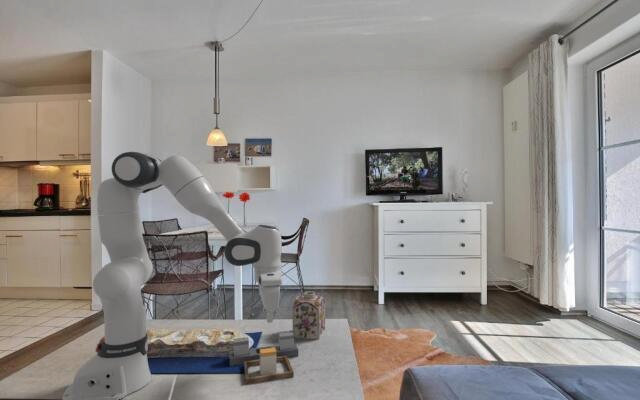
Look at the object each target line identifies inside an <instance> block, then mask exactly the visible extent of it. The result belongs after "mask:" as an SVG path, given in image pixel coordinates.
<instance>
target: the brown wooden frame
mask: <svg viewBox="0 0 640 400" xmlns="http://www.w3.org/2000/svg"><path fill="white" fill-rule="evenodd" d="M283 362H285V363H284V364H285V365H286V368H287V371H284V372H276V373H271V374H264V375H260V376H259V375H258V376H257V375H256V376H251V377H250V376H249V371H248V370H249V369H248V367H256V366H260V359H259V360H252V361H245V362H244V364H243V370H244V375H245V384H246V385H253V384H259V383H265V382H272V381H277V380H283V379H289V378H294V377H295V375H294V373H295V372H294V370H293V367H292V365H291V362H290V361H289V358H287V356H280V357H276V364H277V363H283Z"/></svg>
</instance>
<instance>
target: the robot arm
mask: <svg viewBox="0 0 640 400" xmlns="http://www.w3.org/2000/svg"><path fill="white" fill-rule="evenodd" d="M111 174H112V176H113V177H111V178H107V179H105V180H103V181H101V182H100V184H99V186H98V190H97V197H96V198H97V200H96V201H97V202H96V203H97V204H96V205H97V207H96V208H97V217H98V218H97V221H98V228H99V235H100V237H99V238H100V241H101V243H102V244H103V245H104V247H105V248H106V251H107V254H108V257H109V258H110V262H108V263H107V264H105V265H104V266H103V267H101V269H100V270H99V271H98V272H97V273H96V275H95V276H94V278H93V281H92V287H93V291H94V293H95V294H96V296H98V297H99V299H100V303H101V306H102V307H101V308H102V311H103V316H104V317H103V318H104V336H103V337H101V339H99V342H98V343H97V345H96V347H95V353H96V354H95V355H93V356H92V357H91V358H90V359H89V360H87V361H86V362H85V363H83V364H82V365H81V367H79V369H78V370H77V371H76V373H75V375H74V378H73V381H72V383H71V384H69V385H68V387H67V388H66V389H65V390H64V392H63V394H62V396H61V400H119V399H120V400H121V398H122V399H123V398H125V397H126V396H128V395H130V394H131V393H135V392H136V391H139V390H141V389H142V388H144V387H145V386H147V385H148V384H149V383H150V382H151V380H152V373H151V370H150V367H149V362H148V351H149V338H148V333H147V309H146V307H145V305H144V301H143V298H142V286H143V285H145V284H146V283H147V282H148V281H149V280H150V278H151V276H152V274H153V270H154V269H153V268H154V265H153V262H152V261H151V259H150V255H149V253H148V249H147V246H146V244H145V241H144V236H143V231H142V230H143V229H142V221H141V214H140V213H141V212H140V205H139V197H140V196H141V194H142V193H143V194H146V193H148V192H150V191H153V190H156V189H158V188H160V187H162V186H164V187H165V188H166V189H167V190H168V191H169V192H170V194H171V195H172V196H173V197H174V198H175V199H176V201H177V202H178V203H179V205H181V206H182V207H183V208H184V209H185V210H186V211H188V212H189V213H190V214H193V215H196V216H199V217H201V218H204V219H205V220H207V221H209V222H210V223H211V224H212V225H213V227H215V228H216V230H217V231H218V232H219V233H220V235H222V236H223V238H224V239H225V240H226V241H227V243H226V244H225V246H224V250H223V251H224V257H225V259H226V261H227V263H229V264H230V265H232V266H235V267H243V266H247V265H252V264H254V281H255V282H257V284H258V291H259V292H258V294H259V296H260V297H259V298H260V299H261V301H262V312H263V313H264V314H266V323H268V324H271V323H273V321H274V314H275V312H278V310H279V306H280V296H281V295H280V294H281V286H282V284H283V277H282V273H283V272H282V271H283V270H282V266H283V265H282V260H281V256H282V252H283V248H282V247H283V246H282V234H281V231H280V230H279V228H277V227H275V226H273V225H269V224H268V225H267V224H258V225H256V226H255V227H254V228H252V229H251V230H249V231H246V230H245V229H244V228H242V227H241V226H240V225H239V224H238V223H237V222H236V221H235V220H234V219H233V217H232V216H231V215H230V214H229V212H228V211H227V210H226V208H225V207H224V205H223V204H222V202H221V201H220V198H219V197H218V196H217V194H216V192H215V190H214V188H213V187H212V186H211V185H212V184H210V183H209V181H208V180H207V178H206V177H205V175H203V173H202V172H201V171H200V170H199V169H198V168H197V167H196V166H195V165H194V164H193V163H192V162H191V161H190V160H189V159H187V158H186V157H185V156H182V155H179V154H175V155H171V156H168V157H167V158H165V159H163V160H161V159H160V158H157V157H154V156H152V155H151V154H149V153H141V152H138V151H126V152H122V153H121V154H119V155H117V156H116V157H115V158H114V159H113V162H112V163H111Z"/></svg>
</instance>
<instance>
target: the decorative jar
mask: <svg viewBox="0 0 640 400" xmlns="http://www.w3.org/2000/svg"><path fill="white" fill-rule="evenodd" d="M324 331H326V301H325V299H324V297H323V296H321V295H318V294H316V292H314V291H305V292H304V293H303V294H301V295H298V296H296V297H295V299H294V302H293V305H292V332H293V334H294V338H297V339H298V338H300V339H308V340H309V339H311V340H320V338H321V337H322V335H323V334H324Z"/></svg>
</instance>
